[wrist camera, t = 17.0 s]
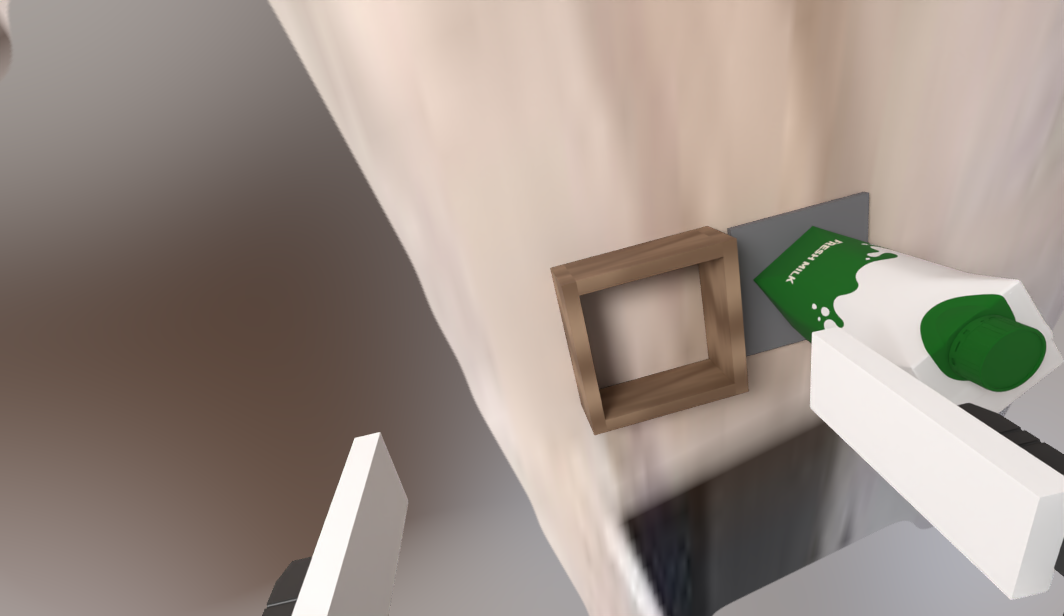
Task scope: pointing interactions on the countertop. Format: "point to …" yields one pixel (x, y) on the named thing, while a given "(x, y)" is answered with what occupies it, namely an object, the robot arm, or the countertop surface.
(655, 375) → the collar
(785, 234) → the rubber mat
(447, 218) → the countertop surface
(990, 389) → the soya milk
